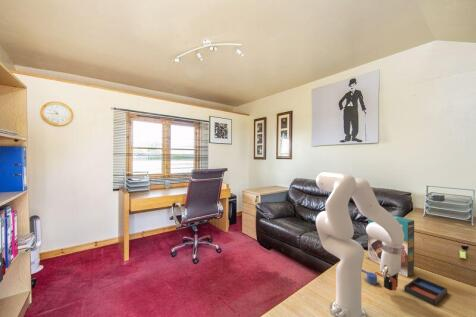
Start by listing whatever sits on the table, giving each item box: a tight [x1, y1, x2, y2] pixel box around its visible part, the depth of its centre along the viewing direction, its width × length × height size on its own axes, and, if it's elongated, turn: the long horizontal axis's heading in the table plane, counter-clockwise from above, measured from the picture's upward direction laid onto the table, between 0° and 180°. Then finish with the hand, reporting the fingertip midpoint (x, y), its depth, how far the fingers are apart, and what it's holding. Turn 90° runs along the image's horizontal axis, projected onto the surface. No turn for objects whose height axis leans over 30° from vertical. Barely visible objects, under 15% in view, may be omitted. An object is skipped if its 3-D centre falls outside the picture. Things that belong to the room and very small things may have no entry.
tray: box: [403, 276, 448, 306], centre depth 100 cm, size 15×11×2 cm
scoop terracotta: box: [374, 271, 398, 291], centre depth 100 cm, size 4×9×4 cm, turn 30°
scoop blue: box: [361, 269, 378, 286], centre depth 111 cm, size 4×9×4 cm, turn 30°
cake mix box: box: [367, 214, 415, 278], centre depth 123 cm, size 22×6×30 cm, turn 23°
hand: (390, 286), depth 98 cm, fingers closed on scoop terracotta, 4 cm apart
